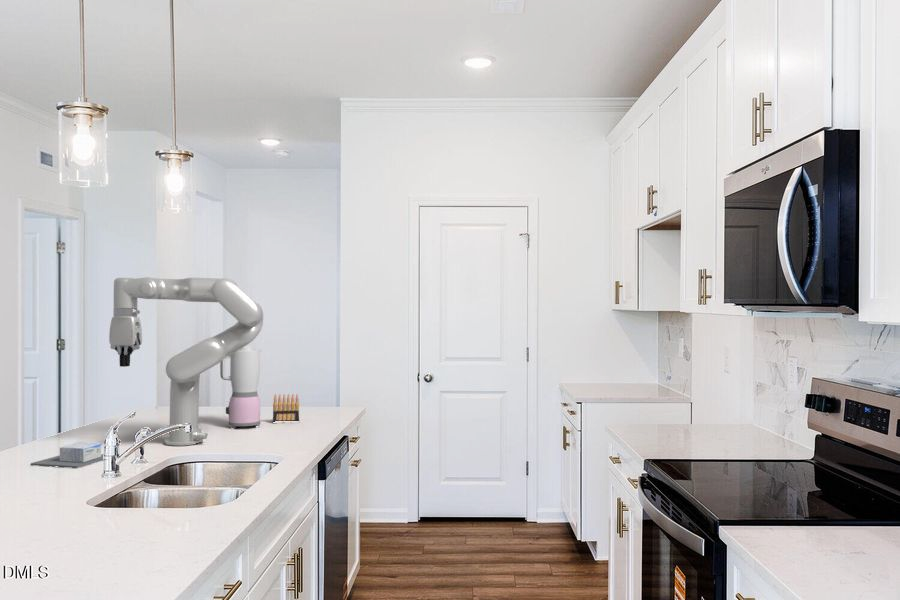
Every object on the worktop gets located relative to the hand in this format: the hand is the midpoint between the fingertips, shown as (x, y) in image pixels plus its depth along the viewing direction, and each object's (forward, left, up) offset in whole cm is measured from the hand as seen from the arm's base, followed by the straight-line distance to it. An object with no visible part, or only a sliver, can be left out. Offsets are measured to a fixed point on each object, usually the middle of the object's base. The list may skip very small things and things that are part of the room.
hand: (124, 366), depth 241 cm
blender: (-21, -42, -27) cm, 54 cm away
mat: (-2, +26, -27) cm, 38 cm away
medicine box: (0, +26, -24) cm, 35 cm away
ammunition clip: (-34, -56, -27) cm, 71 cm away
